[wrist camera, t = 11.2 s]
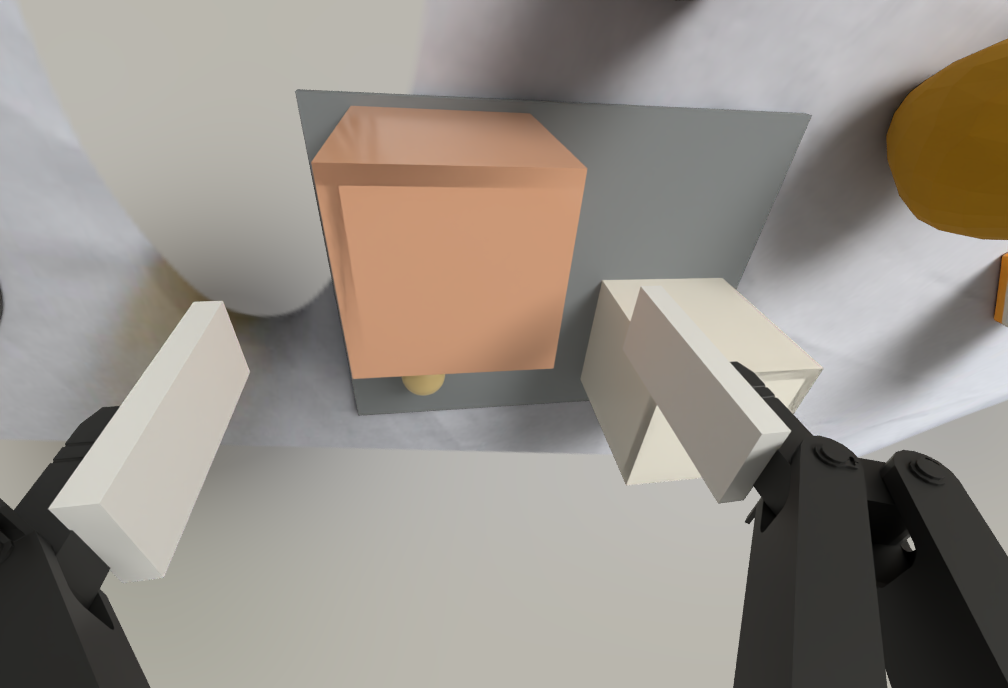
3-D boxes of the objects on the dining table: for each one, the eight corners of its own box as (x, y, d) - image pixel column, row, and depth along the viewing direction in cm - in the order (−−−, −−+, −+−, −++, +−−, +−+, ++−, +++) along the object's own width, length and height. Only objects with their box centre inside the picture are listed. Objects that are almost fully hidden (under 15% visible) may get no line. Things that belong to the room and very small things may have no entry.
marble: (403, 377, 32) (402, 406, 30) (400, 344, 31) (398, 372, 28) (444, 374, 33) (446, 403, 30) (443, 343, 31) (445, 370, 29)
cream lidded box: (580, 379, 35) (626, 485, 27) (602, 280, 30) (667, 377, 22) (683, 373, 37) (755, 472, 29) (722, 277, 31) (823, 368, 23)
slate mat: (359, 410, 34) (358, 415, 34) (298, 89, 21) (295, 91, 21) (687, 389, 39) (690, 393, 38) (804, 113, 26) (811, 115, 25)
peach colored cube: (372, 270, 27) (352, 378, 19) (350, 105, 21) (310, 162, 14) (516, 268, 28) (553, 368, 20) (530, 113, 23) (587, 168, 15)
